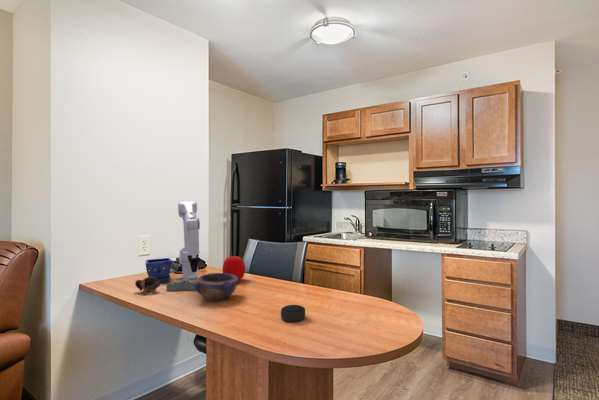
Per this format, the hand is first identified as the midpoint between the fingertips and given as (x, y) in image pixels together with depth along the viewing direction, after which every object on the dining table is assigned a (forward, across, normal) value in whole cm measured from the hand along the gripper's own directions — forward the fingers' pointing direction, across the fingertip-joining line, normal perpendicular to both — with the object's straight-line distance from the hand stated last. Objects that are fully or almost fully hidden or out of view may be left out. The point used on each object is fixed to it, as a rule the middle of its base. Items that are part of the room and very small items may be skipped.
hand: (193, 270), depth 169 cm
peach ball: (+8, -7, -7) cm, 12 cm away
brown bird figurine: (+10, -7, -22) cm, 25 cm away
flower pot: (+10, -30, -17) cm, 36 cm away
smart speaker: (+10, +59, +31) cm, 68 cm away
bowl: (+10, +20, +9) cm, 24 cm away
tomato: (+10, -11, +21) cm, 26 cm away
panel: (+10, -4, 0) cm, 10 cm away
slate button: (+8, -4, 0) cm, 9 cm away
